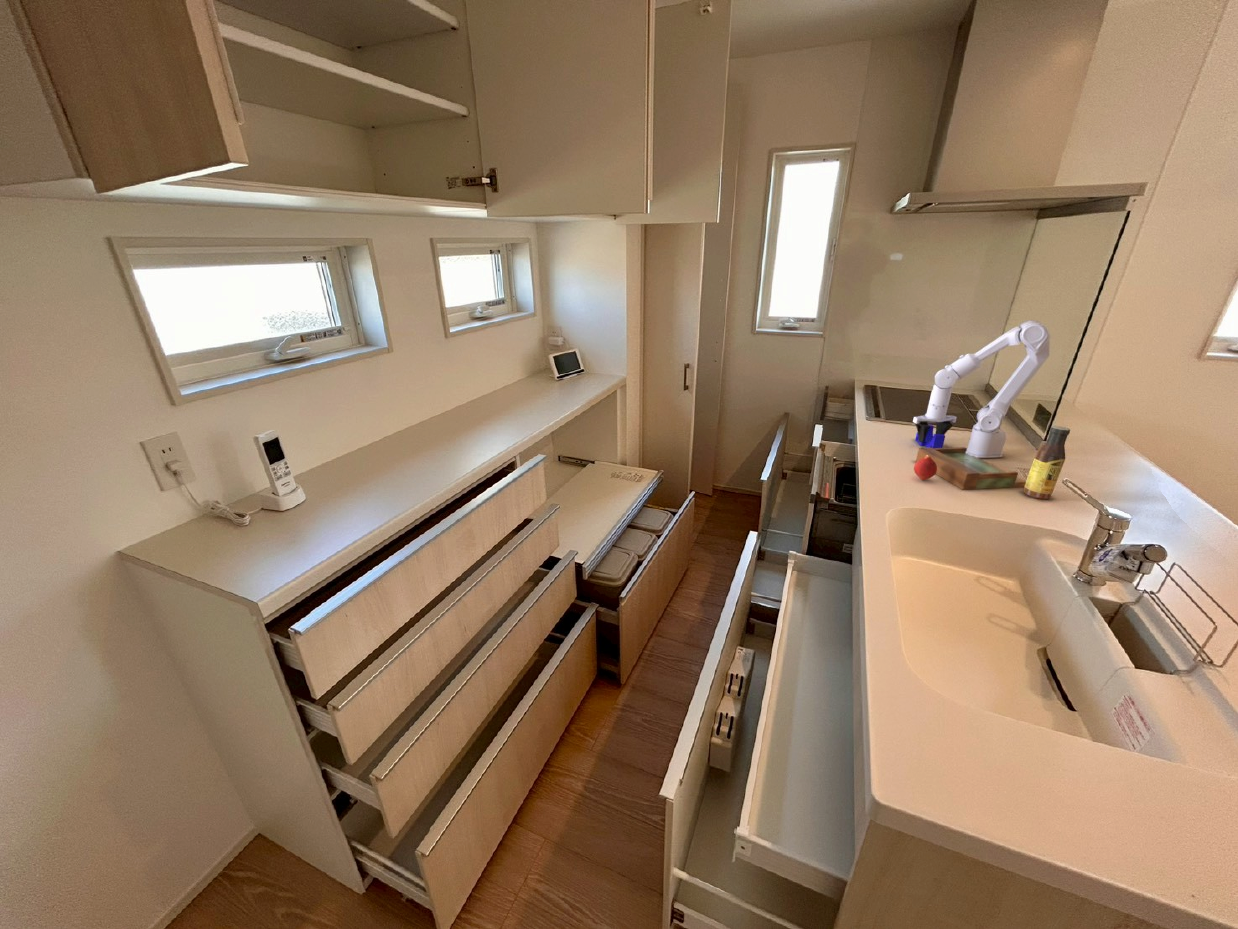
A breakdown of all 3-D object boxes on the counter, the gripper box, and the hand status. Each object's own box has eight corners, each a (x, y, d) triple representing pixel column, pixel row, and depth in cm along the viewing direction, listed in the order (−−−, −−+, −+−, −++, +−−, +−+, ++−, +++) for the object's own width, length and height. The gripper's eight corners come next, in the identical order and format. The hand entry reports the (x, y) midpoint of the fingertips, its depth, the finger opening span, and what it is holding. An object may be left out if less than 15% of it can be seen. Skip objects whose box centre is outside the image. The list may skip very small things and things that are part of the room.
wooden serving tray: (972, 459, 164) (976, 445, 162) (1026, 486, 145) (1031, 470, 143) (915, 462, 162) (918, 447, 160) (962, 489, 143) (967, 473, 141)
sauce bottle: (1043, 502, 136) (1068, 433, 128) (1017, 493, 141) (1040, 426, 133) (1055, 497, 138) (1080, 429, 131) (1029, 488, 144) (1052, 423, 136)
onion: (931, 477, 151) (937, 453, 148) (935, 485, 146) (942, 459, 143) (909, 475, 153) (915, 450, 150) (913, 482, 148) (919, 457, 145)
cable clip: (915, 440, 182) (918, 424, 180) (928, 440, 181) (932, 424, 179) (927, 451, 171) (930, 435, 169) (941, 452, 170) (945, 435, 168)
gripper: (949, 400, 174) (940, 437, 180) (911, 402, 173) (902, 438, 178) (964, 406, 168) (954, 444, 173) (924, 407, 167) (915, 445, 172)
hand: (929, 441), depth 175 cm, fingers open, 5 cm apart
